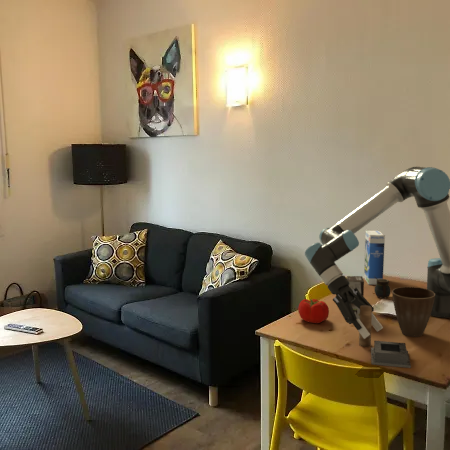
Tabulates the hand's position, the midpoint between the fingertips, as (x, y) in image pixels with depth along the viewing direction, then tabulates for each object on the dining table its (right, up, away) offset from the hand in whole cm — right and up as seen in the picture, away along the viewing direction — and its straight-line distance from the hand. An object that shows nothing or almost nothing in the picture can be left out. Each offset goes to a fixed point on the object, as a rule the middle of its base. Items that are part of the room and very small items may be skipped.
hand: (373, 333), depth 173 cm
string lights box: (+25, +8, +84) cm, 88 cm away
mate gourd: (+21, +4, +58) cm, 62 cm away
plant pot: (+18, -3, +13) cm, 23 cm away
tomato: (-16, -1, +28) cm, 33 cm away
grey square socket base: (+3, -6, -8) cm, 11 cm away
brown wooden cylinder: (-2, -5, +3) cm, 6 cm away
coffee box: (+2, 0, +33) cm, 33 cm away
